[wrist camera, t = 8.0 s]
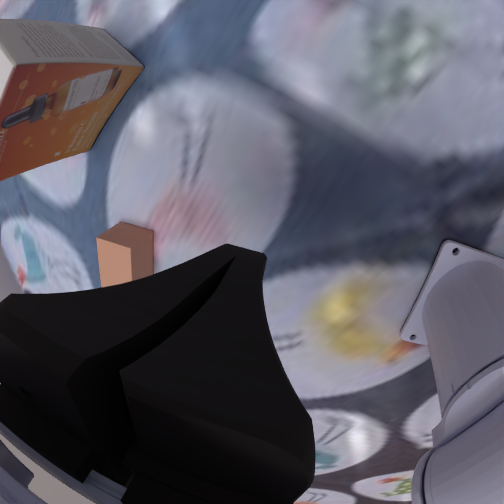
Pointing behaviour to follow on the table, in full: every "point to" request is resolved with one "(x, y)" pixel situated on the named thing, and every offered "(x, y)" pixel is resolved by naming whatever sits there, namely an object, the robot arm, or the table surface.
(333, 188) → the table surface
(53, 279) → the table surface
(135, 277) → the terracotta batten
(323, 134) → the table surface
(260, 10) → the table surface
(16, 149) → the small box
